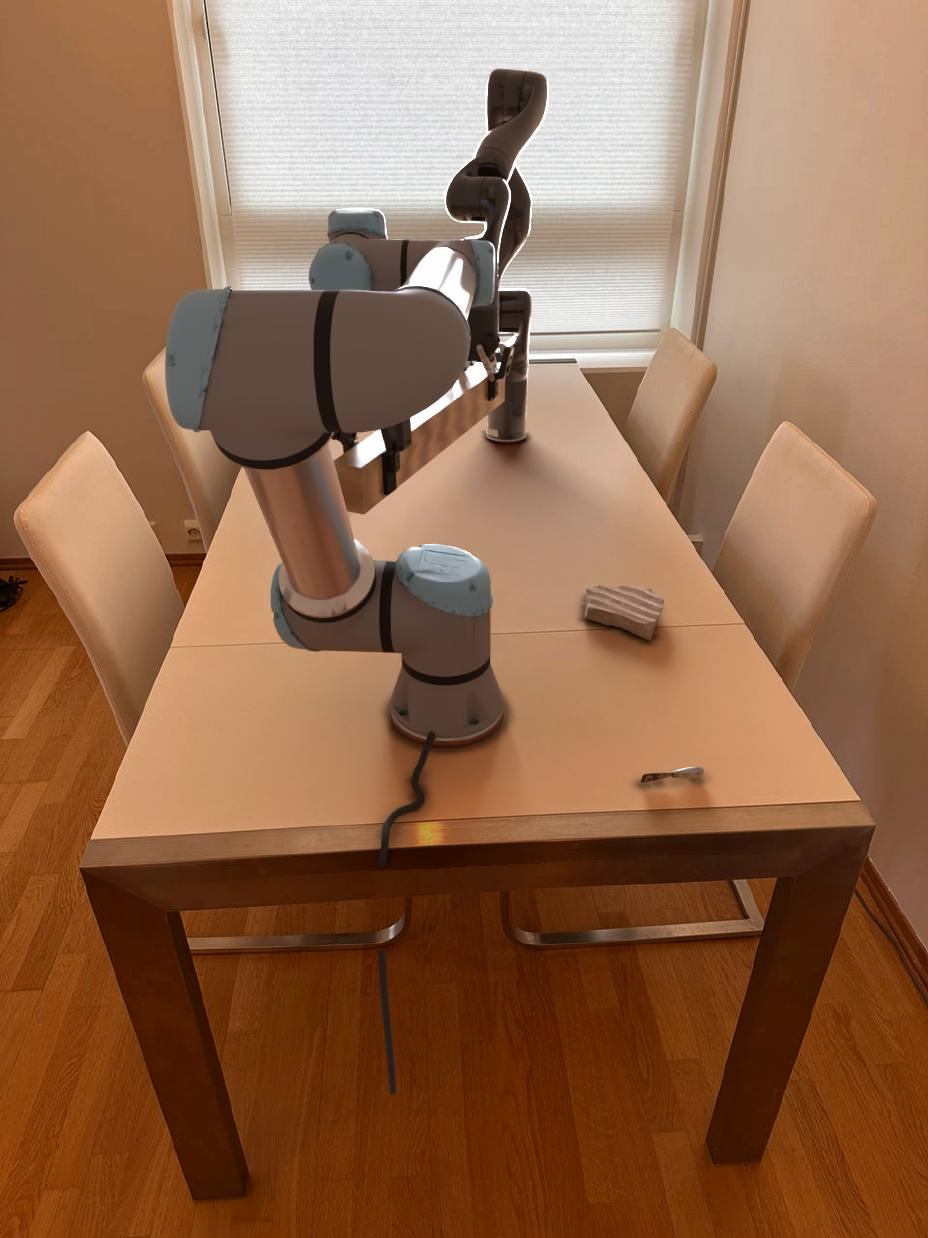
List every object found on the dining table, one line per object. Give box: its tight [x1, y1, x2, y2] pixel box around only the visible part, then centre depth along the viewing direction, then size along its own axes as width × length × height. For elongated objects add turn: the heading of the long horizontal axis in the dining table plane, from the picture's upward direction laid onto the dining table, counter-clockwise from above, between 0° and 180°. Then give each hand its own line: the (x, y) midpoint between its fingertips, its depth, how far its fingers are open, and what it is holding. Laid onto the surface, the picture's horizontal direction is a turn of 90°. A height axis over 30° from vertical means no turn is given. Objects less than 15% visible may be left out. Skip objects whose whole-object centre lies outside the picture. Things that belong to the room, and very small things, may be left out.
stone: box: [583, 584, 665, 641], centre depth 141 cm, size 13×12×3 cm
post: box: [333, 362, 505, 515], centre depth 149 cm, size 55×5×7 cm, turn 156°
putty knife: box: [640, 765, 705, 784], centre depth 109 cm, size 1×8×2 cm, turn 103°
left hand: (373, 488), depth 135 cm, fingers closed on post, 5 cm apart
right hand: (477, 397), depth 165 cm, fingers closed on post, 5 cm apart
